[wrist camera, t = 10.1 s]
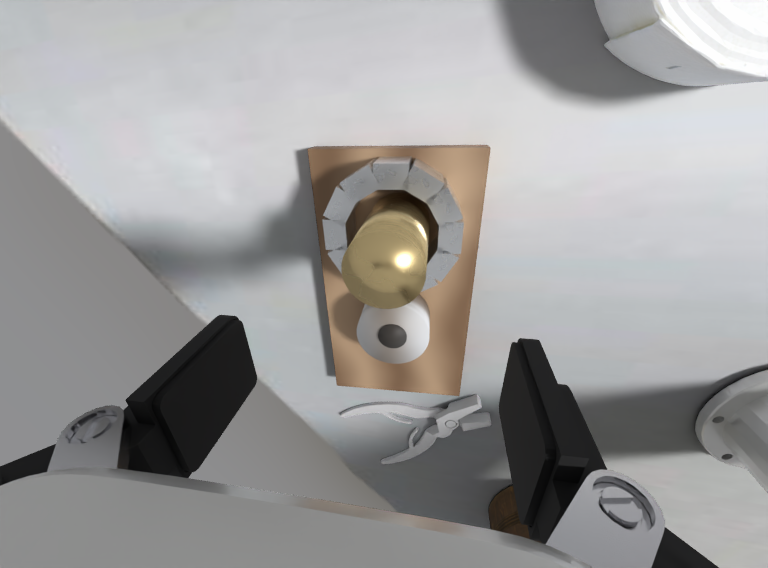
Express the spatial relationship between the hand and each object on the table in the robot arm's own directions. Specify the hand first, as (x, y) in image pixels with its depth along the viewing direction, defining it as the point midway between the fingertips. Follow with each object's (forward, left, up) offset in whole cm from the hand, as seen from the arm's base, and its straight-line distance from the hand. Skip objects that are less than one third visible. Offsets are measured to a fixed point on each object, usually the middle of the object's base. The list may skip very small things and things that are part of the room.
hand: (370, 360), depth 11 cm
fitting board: (+1, +6, -16) cm, 17 cm away
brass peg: (0, 0, -14) cm, 14 cm away
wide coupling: (+1, 0, -14) cm, 14 cm away
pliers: (-2, +23, -16) cm, 28 cm away
